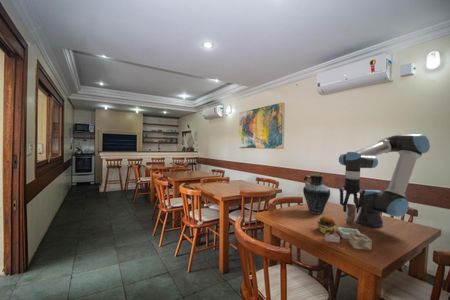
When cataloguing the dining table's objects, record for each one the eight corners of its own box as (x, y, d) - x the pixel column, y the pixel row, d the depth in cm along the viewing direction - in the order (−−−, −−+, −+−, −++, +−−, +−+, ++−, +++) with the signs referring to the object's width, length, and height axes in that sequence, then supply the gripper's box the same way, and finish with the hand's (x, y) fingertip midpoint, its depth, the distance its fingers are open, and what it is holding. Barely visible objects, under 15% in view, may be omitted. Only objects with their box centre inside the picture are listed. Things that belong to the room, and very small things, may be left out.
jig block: (365, 243, 119) (365, 234, 118) (371, 250, 111) (371, 241, 111) (349, 241, 120) (349, 232, 120) (353, 248, 113) (354, 239, 112)
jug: (333, 213, 170) (335, 175, 170) (323, 218, 157) (324, 177, 156) (308, 207, 186) (309, 172, 185) (296, 211, 172) (297, 173, 171)
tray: (356, 233, 132) (356, 229, 132) (363, 240, 122) (363, 236, 122) (337, 231, 135) (337, 227, 135) (342, 238, 125) (342, 233, 124)
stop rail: (338, 241, 121) (338, 233, 121) (339, 242, 119) (339, 235, 119) (325, 239, 122) (325, 232, 122) (325, 240, 120) (326, 233, 120)
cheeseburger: (313, 230, 134) (315, 214, 135) (320, 230, 141) (322, 215, 143) (331, 235, 127) (332, 218, 128) (337, 235, 134) (338, 218, 136)
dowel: (352, 224, 130) (353, 204, 129) (354, 226, 126) (356, 206, 125) (345, 223, 131) (346, 203, 130) (347, 225, 127) (348, 205, 126)
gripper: (366, 178, 129) (364, 217, 130) (334, 176, 133) (333, 214, 134) (371, 180, 122) (369, 221, 122) (338, 178, 126) (336, 218, 126)
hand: (350, 217), depth 128 cm, fingers closed on dowel, 4 cm apart
